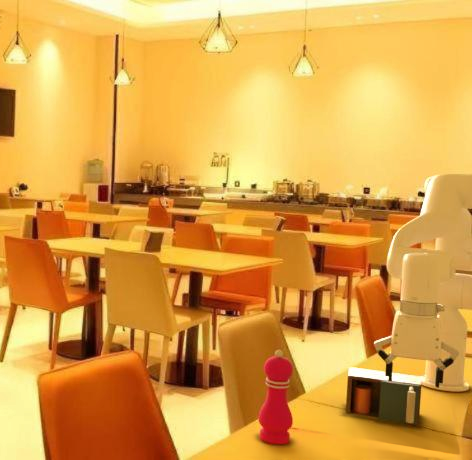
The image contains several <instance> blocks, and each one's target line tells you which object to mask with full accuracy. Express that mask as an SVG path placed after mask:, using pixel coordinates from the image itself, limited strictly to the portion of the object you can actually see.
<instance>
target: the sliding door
mask: <svg viewBox="0 0 472 460" xmlns="http://www.w3.org/2000/svg"><path fill="white" fill-rule="evenodd" d="M419 389H420V385H413V384H405V383H398V382H390V381H382V380H381V390H380V405H379V417H378V420H381V421H382V420H383V421H389V422H394V423H395V422H396V423H402V424H407V425H408V424H409V425H413V426H414V425H415V426H417V425H418V423H417V417H418V403H419Z"/></svg>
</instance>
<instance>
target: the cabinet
mask: <svg viewBox="0 0 472 460" xmlns="http://www.w3.org/2000/svg"><path fill="white" fill-rule="evenodd" d="M385 372H386V371H382V370H375V369H367V368H358V367H349V370H348V374H347V383H346V384H347V385H346V400H345V402H346V403H345V413H348V414H352V415H359V416H360V415H361V416H366V417H373V418H379V405H380V390H381V380H382V381H388V378H389V377H388V376H385ZM421 376H422V375H412V374H406V373H398V372H392V381H390V382H398V383H405V384H413V385H420V389H419V403H418V417H417V424H420V413H421V411H420V410H421V398H422V386H423V385H422V384H421ZM355 385H367V386H370V387H372V399H371V412H370V413H368V414H363V413H358V412H355V411H353V401H354V386H355Z"/></svg>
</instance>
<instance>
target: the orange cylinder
mask: <svg viewBox="0 0 472 460" xmlns="http://www.w3.org/2000/svg"><path fill="white" fill-rule="evenodd" d="M371 399H372V387H370V386H367V385H355V386H354V401H353V411H355V412H358V413H363V414H368V413H370V412H371Z"/></svg>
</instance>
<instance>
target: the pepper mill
mask: <svg viewBox="0 0 472 460" xmlns="http://www.w3.org/2000/svg"><path fill="white" fill-rule="evenodd" d="M283 356H284V352H283V350H281V349H277V350H276V351H275V352H274V356H270V357H269V358H268V359H267V360H266V361H265V363H264V366H263V371H264V374H265V375H266V376H267V377H266V378H265V385H266V386H267V393H266V398H265V401H264V403H263V405H262V406H261V408H260V410H259V412H258V420H257V421H258V423H259V425H260V426H261V428H260V430H259V438H260V440H261V441H263V442H264V443H268V444H272V445H285V444H288V443H289V442H290V439H291V438H290V436H291V433H290V432H289V430H290V429H291V428H292V427H293V424H294V422H293V415H292V411H291V408H290V406H289V403H288V400H287V393H288V389H289V388H290V379H289V378H290V377H291V376H292V375H293V373H294V370H293V369H294V368H293V363H292V362H291V361H290V360H289V359H288V358H286V357H283Z"/></svg>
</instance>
